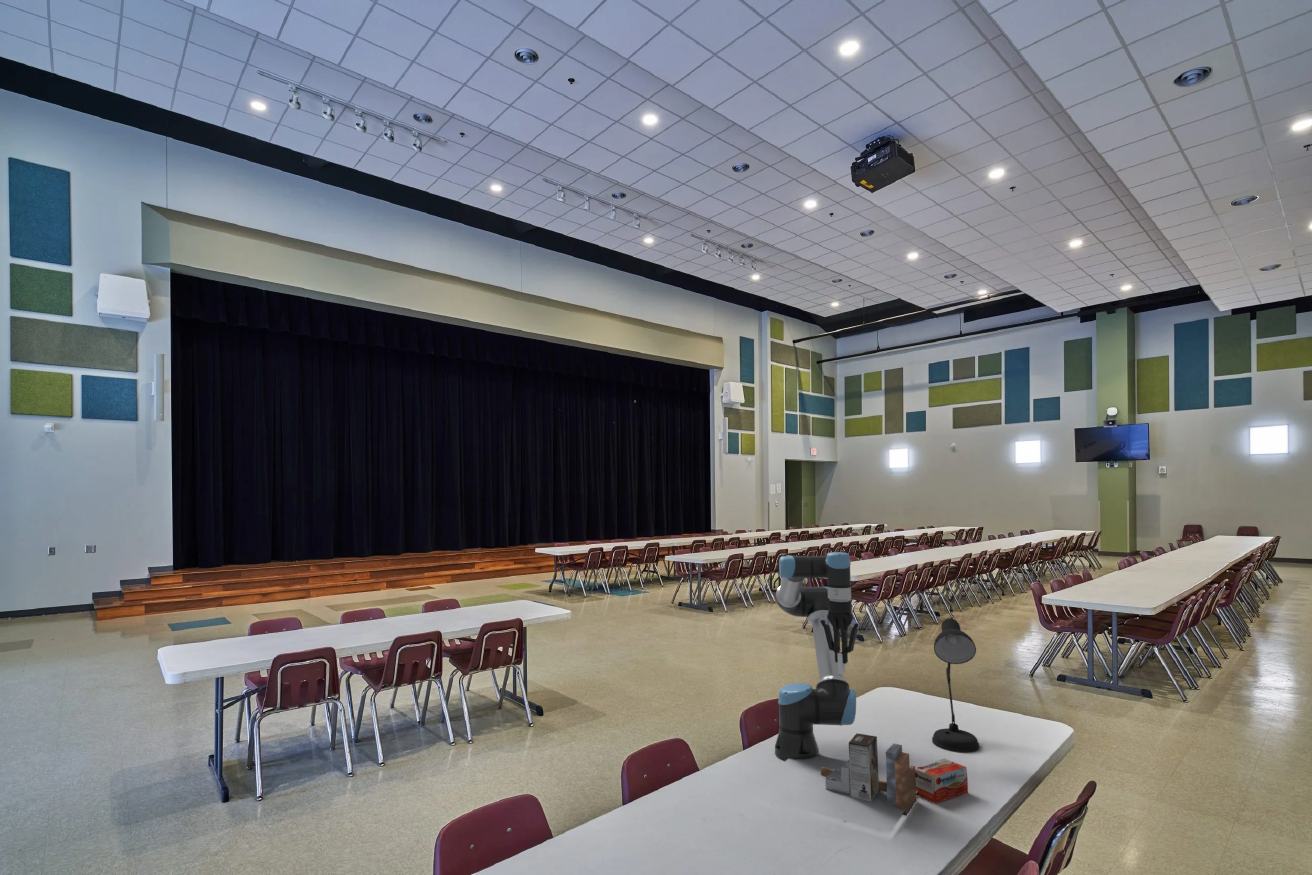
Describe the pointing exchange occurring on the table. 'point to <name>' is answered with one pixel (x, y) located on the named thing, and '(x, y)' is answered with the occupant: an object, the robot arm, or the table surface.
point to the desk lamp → (952, 650)
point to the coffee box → (863, 767)
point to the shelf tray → (905, 787)
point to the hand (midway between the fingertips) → (841, 672)
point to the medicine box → (941, 780)
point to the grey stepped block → (840, 780)
